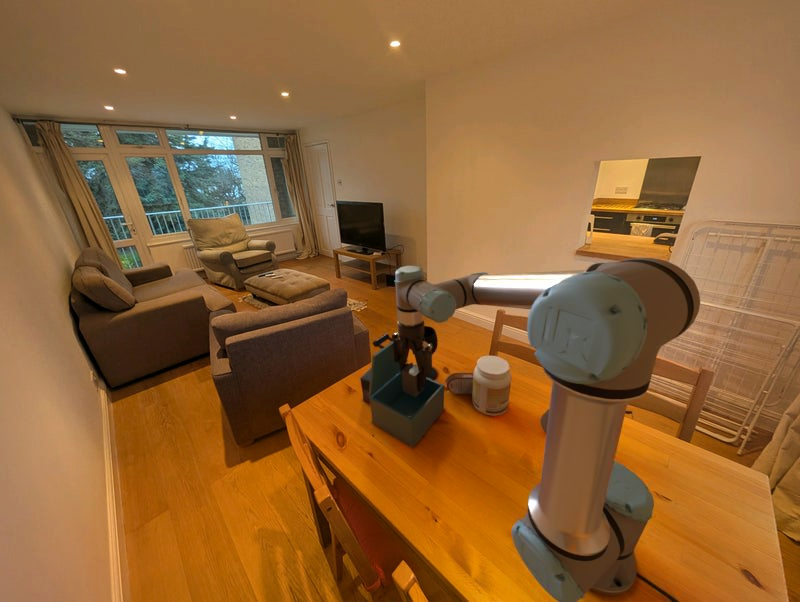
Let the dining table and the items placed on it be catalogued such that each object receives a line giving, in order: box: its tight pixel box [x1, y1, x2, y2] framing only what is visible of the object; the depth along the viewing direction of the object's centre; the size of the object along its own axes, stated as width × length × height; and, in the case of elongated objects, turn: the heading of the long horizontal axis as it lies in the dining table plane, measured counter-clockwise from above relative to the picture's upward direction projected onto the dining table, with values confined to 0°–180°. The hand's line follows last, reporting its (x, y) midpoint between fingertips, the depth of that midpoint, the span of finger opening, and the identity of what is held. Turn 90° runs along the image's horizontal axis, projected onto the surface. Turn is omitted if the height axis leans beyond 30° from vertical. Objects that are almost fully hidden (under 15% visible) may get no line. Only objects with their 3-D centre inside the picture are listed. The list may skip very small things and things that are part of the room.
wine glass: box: [422, 325, 439, 381], centre depth 116 cm, size 10×10×20 cm
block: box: [402, 362, 424, 397], centre depth 91 cm, size 5×5×8 cm
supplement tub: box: [471, 355, 513, 417], centre depth 99 cm, size 12×12×17 cm
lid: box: [369, 333, 402, 397], centre depth 97 cm, size 17×19×6 cm
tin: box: [445, 372, 474, 395], centre depth 107 cm, size 15×3×8 cm, turn 87°
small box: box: [359, 367, 371, 404], centre depth 108 cm, size 11×6×10 cm, turn 149°
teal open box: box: [369, 372, 445, 448], centre depth 97 cm, size 17×19×11 cm
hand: (413, 385), depth 92 cm, fingers closed on block, 5 cm apart
